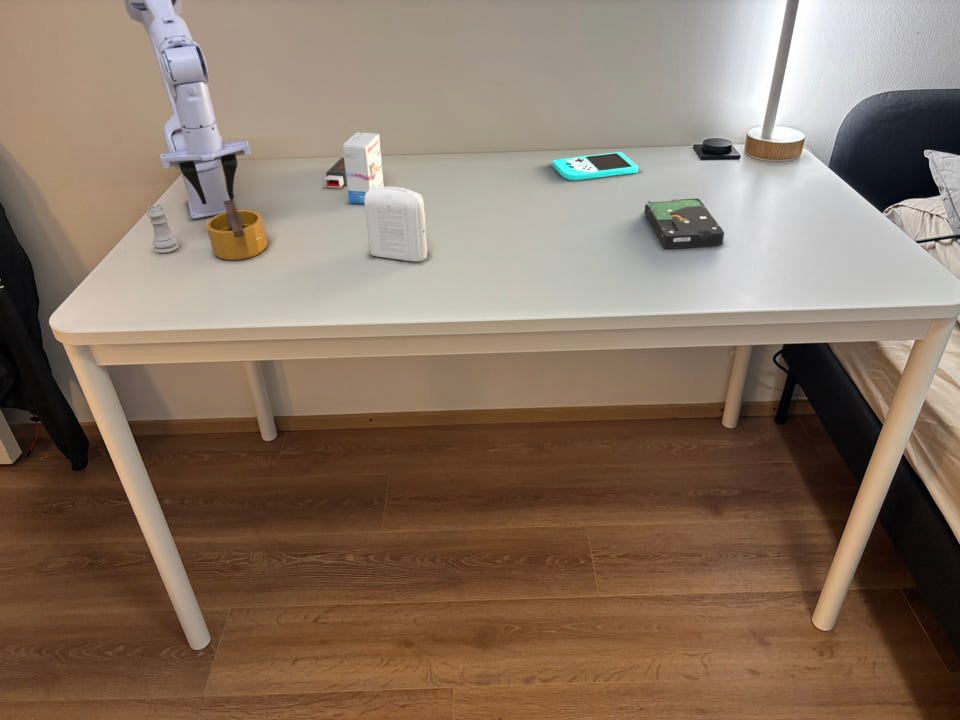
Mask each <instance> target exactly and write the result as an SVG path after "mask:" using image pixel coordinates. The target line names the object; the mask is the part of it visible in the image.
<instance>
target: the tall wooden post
mask: <svg viewBox="0 0 960 720" xmlns="http://www.w3.org/2000/svg"><path fill="white" fill-rule="evenodd" d="M223 202H224V206H225V209H226V212H227V215H228V217H225V218H226V222H227V226H228V230H229V231H233V233H234V237H235V238H236V237H241V236H244V231H243V229H244V225H243V222H242V219H241V217H240V214H239V215H238V214H237V211H236V210H237V209H236V205H235V203H234V199H231V200H227V201H223Z"/></svg>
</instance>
